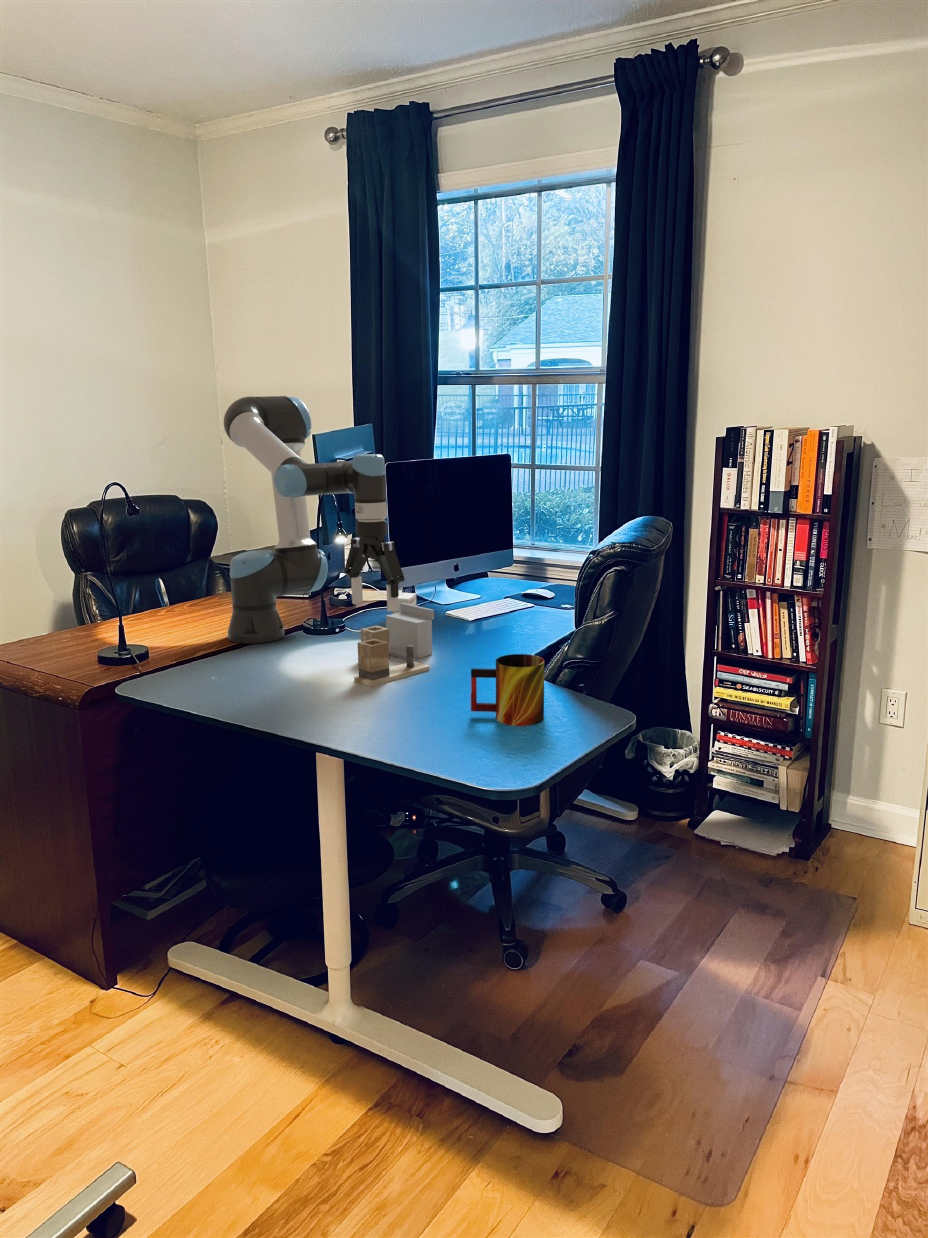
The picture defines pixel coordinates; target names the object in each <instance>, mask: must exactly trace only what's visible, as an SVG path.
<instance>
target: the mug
mask: <svg viewBox="0 0 928 1238" xmlns="http://www.w3.org/2000/svg"><path fill="white" fill-rule="evenodd" d="M477 678H486V679H495V703H491V702H487V703H486V702H477V701H478V700H477V699H478V698H477V697H478V696H477V694H478V693H477V692H478V690H477V687H478V686H477V683H478V682H477V680H478V679H477ZM470 688H471V689H470V691H471V692H470V711H471V712H486V713H487V712H488V713H489V712H490V713H495V719H496V721H497V722H498V723H501V724H503V725H507V726H513V727H530V726H535V725H537V724H540V723H542V722H543V721H544V719H545V659H544V658H543V657H541V656H537V655H534V654H525V653H513V654H511V653H510V654H505V655H501V656H499V657H497V658H496V660H495V668H475V667H474V668H472V667H471V669H470Z"/></svg>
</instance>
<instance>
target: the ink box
mask: <svg viewBox="0 0 928 1238" xmlns="http://www.w3.org/2000/svg"><path fill="white" fill-rule="evenodd" d="M398 593H399V596H398V610H395V611H391V614H396V613H400V612H401V606H400V603H405V604H410V605H414V606H417V593H416V592H413V593H412V592H398Z"/></svg>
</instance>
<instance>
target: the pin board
mask: <svg viewBox="0 0 928 1238" xmlns="http://www.w3.org/2000/svg"><path fill="white" fill-rule="evenodd" d="M405 661H406V662H405V663H401V664H397V665H394V666H389V674H390V676H388V677H385V678H381V679H377V680H374V681H372V680H368V679H365V678H362V677H359V675H356V676H353V681H354V682H355V683H358V684H361V685H365V686H368V687H374V686H377V685H381V684H385V683H389V682H392V681H395V680H399V679H402V678H403V679H404V678H406V677H410V676H413V675H417V674H420V673H425V672H427V671H428V672H429V671H430V669H431V665H427V664H424V663H420V662H417V661H415V659H414V646H413V645H408V646H406V660H405Z"/></svg>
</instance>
